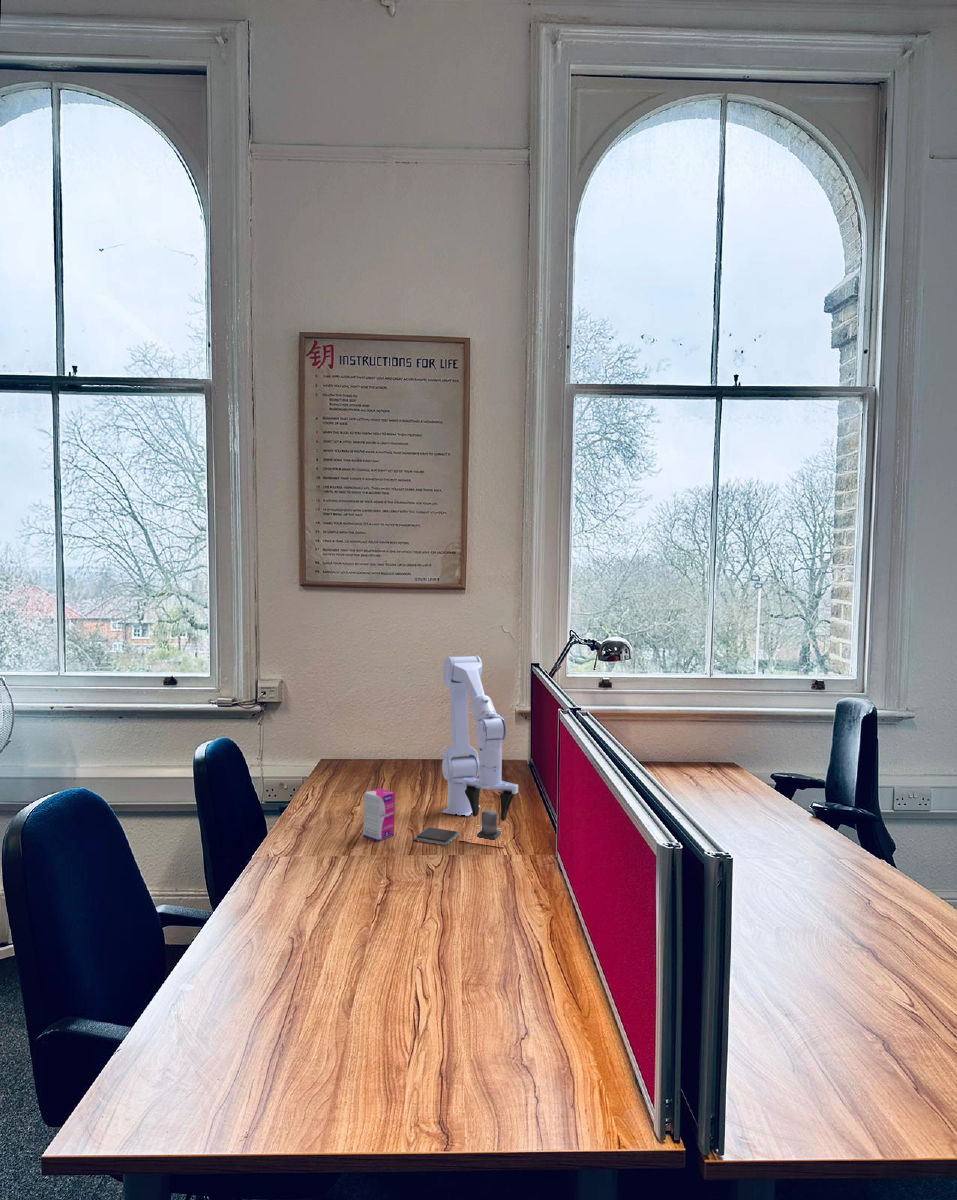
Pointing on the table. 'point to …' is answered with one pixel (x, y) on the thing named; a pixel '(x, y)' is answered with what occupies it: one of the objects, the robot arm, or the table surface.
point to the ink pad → (436, 836)
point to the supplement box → (379, 814)
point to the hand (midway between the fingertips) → (489, 817)
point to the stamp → (489, 826)
